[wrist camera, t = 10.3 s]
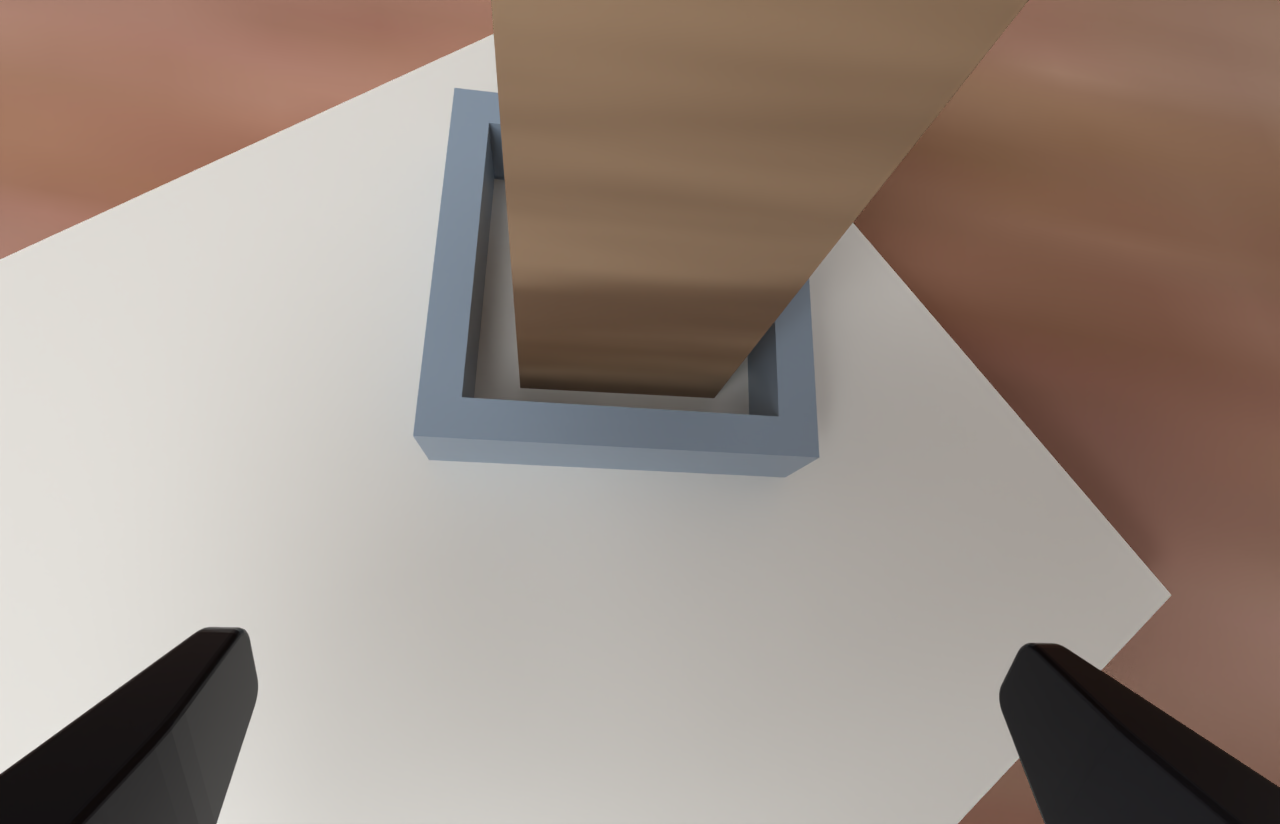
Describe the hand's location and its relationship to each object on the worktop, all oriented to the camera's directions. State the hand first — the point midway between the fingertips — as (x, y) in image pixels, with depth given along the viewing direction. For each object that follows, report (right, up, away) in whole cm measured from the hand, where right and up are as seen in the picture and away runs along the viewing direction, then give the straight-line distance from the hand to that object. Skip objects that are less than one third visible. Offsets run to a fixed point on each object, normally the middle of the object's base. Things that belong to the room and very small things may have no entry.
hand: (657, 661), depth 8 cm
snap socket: (-1, +5, +8) cm, 10 cm away
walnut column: (-1, +5, +8) cm, 10 cm away
